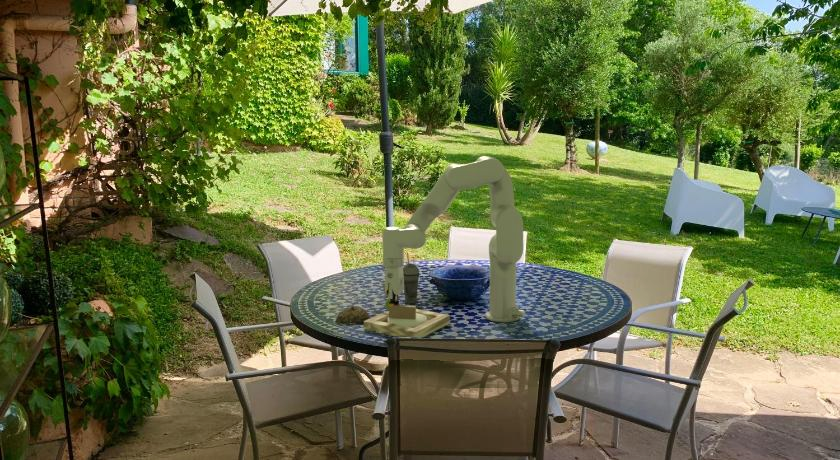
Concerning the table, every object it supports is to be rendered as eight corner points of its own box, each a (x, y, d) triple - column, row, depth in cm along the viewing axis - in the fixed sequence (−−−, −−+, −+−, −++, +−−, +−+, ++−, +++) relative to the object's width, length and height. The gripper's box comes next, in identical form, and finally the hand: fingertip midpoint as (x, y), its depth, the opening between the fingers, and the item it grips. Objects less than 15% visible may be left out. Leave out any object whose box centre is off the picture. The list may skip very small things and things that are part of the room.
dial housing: (449, 323, 236) (449, 314, 235) (415, 340, 218) (415, 331, 217) (400, 313, 248) (399, 305, 247) (363, 329, 230) (363, 320, 229)
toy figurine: (383, 308, 254) (382, 278, 252) (399, 308, 254) (399, 278, 252) (381, 313, 249) (381, 282, 247) (398, 313, 249) (398, 282, 247)
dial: (430, 317, 238) (430, 300, 237) (422, 330, 224) (422, 312, 223) (393, 315, 241) (393, 298, 240) (383, 327, 228) (382, 309, 226)
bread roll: (369, 324, 237) (369, 311, 236) (335, 325, 236) (334, 312, 235) (369, 313, 249) (369, 301, 249) (336, 314, 248) (336, 302, 248)
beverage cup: (417, 304, 260) (417, 254, 257) (400, 303, 262) (399, 254, 258) (421, 299, 267) (421, 251, 264) (404, 298, 269) (403, 250, 265)
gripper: (398, 266, 226) (399, 318, 229) (408, 257, 240) (409, 306, 243) (377, 265, 227) (378, 316, 230) (388, 256, 241) (389, 304, 245)
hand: (394, 311), depth 237 cm, fingers closed
